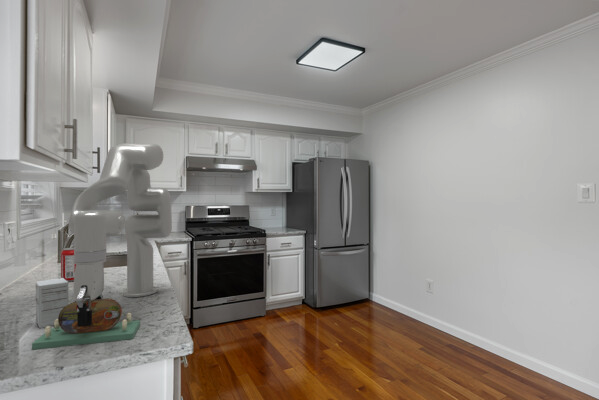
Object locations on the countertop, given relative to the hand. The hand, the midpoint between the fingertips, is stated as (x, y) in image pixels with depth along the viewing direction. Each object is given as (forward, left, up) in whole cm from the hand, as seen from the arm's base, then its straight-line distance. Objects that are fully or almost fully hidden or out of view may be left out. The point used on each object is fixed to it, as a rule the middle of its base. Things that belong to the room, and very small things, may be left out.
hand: (90, 319), depth 90 cm
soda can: (-73, -30, -5) cm, 79 cm away
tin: (0, 0, -3) cm, 3 cm away
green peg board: (0, 0, -5) cm, 5 cm away
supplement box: (-15, -15, -5) cm, 22 cm away
